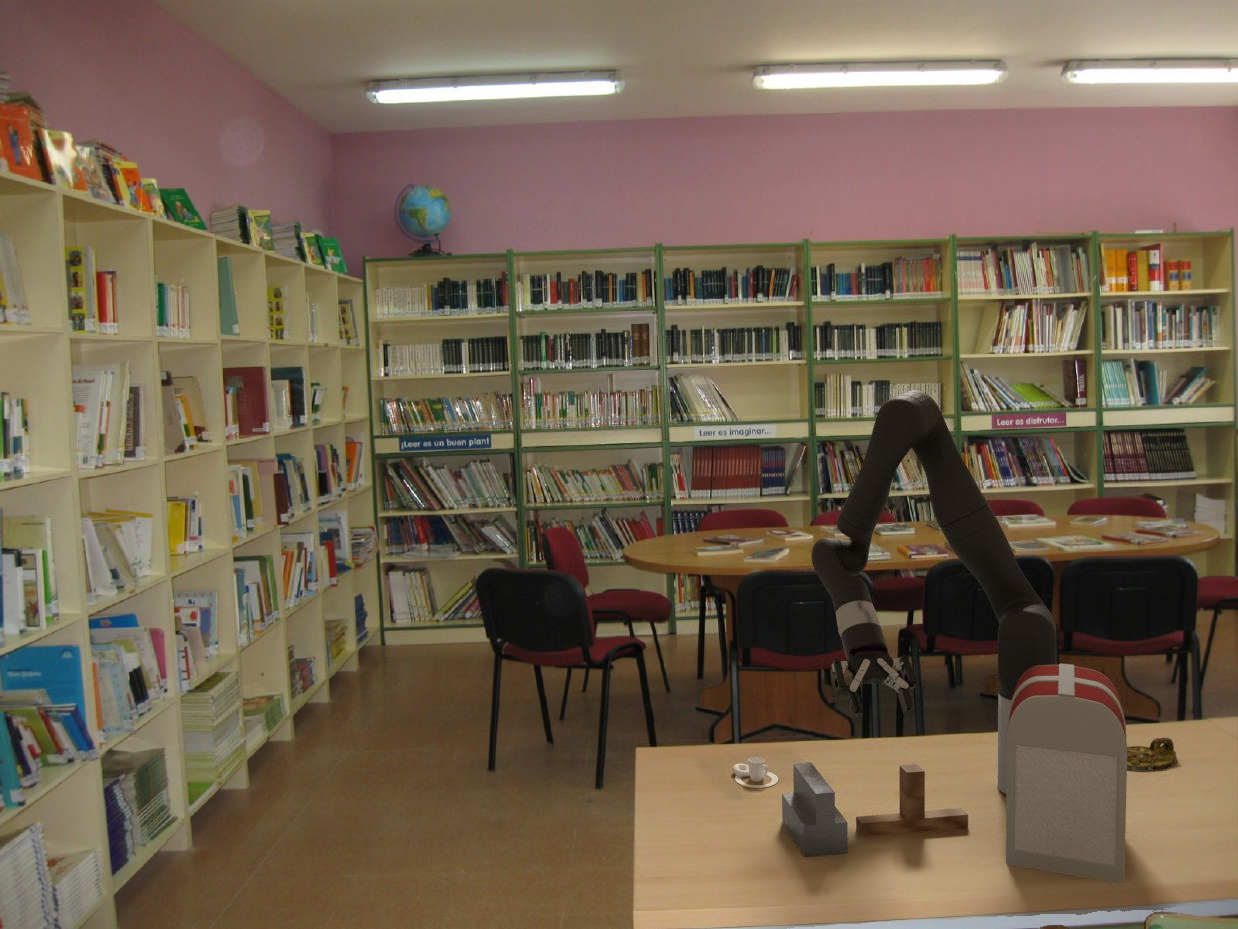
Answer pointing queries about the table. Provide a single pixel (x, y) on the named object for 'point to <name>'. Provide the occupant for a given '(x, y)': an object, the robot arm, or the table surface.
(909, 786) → the wooden t-shaped block
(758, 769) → the teacup and saucer
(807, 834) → the gray metal t-shaped block
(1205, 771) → the table surface
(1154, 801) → the table surface
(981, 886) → the table surface
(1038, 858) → the red-striped tombstone block
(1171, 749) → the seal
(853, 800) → the table surface
